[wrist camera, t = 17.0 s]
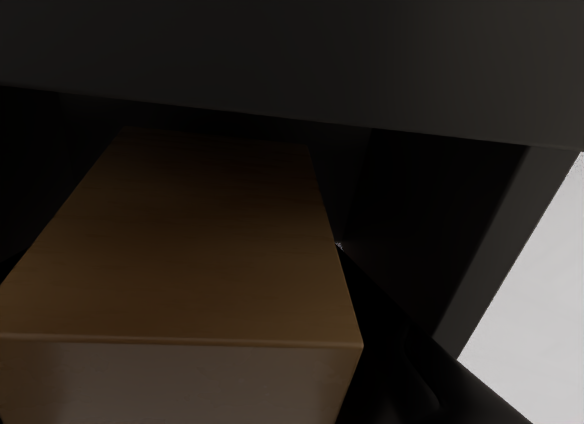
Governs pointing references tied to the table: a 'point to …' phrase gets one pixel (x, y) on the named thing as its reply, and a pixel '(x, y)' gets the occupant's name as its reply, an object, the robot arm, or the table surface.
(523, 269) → the table surface
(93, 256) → the oak block
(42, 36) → the drawer cabinet casing
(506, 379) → the table surface
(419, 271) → the red-fronted drawer
